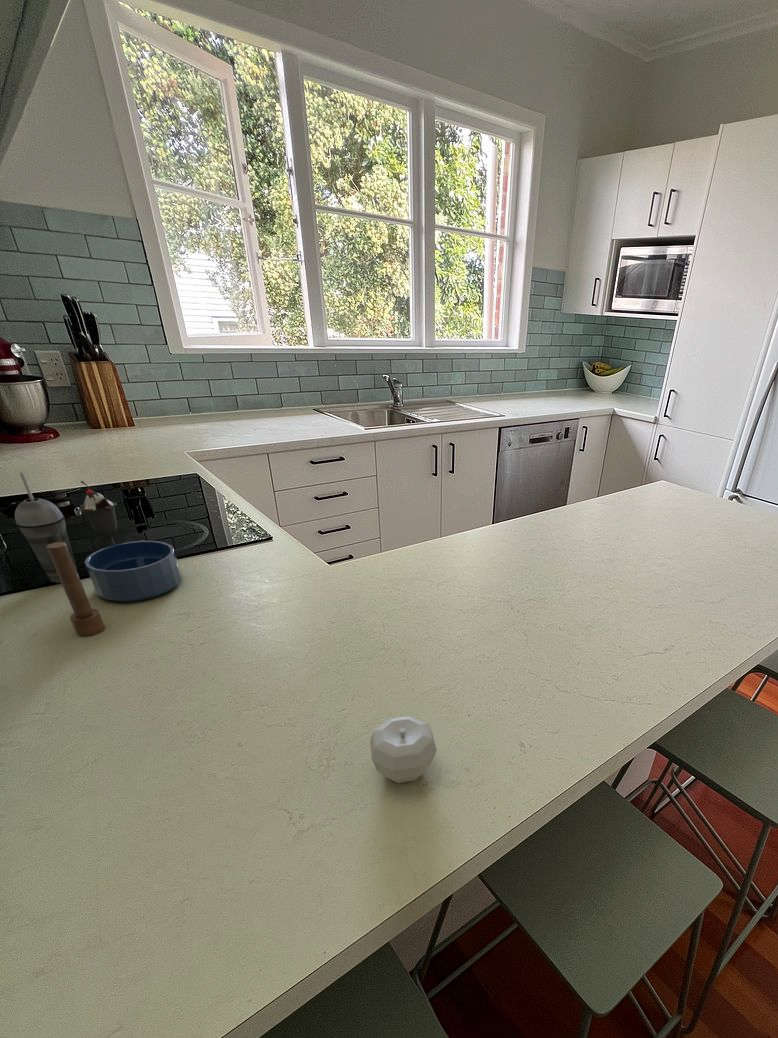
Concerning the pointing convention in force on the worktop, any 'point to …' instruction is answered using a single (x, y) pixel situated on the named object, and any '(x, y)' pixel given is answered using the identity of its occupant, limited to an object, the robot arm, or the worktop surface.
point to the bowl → (133, 570)
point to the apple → (402, 748)
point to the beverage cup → (42, 529)
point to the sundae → (100, 514)
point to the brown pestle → (75, 592)
